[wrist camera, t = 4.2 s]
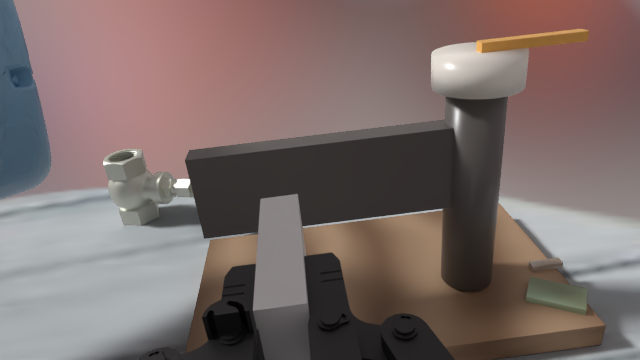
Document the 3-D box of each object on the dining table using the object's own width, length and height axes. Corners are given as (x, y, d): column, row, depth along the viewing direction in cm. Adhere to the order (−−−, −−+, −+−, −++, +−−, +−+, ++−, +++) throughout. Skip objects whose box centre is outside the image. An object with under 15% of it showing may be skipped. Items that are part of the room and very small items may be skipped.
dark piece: (220, 334, 28) (157, 90, 21) (227, 283, 32) (177, 66, 26) (568, 287, 29) (615, 37, 22) (530, 243, 33) (559, 23, 26)
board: (184, 402, 26) (176, 378, 25) (214, 255, 39) (209, 235, 38) (608, 343, 27) (614, 318, 26) (503, 218, 39) (504, 198, 39)
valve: (103, 235, 43) (223, 239, 41) (80, 171, 40) (207, 172, 38) (140, 199, 49) (248, 202, 47) (122, 142, 46) (236, 140, 44)
